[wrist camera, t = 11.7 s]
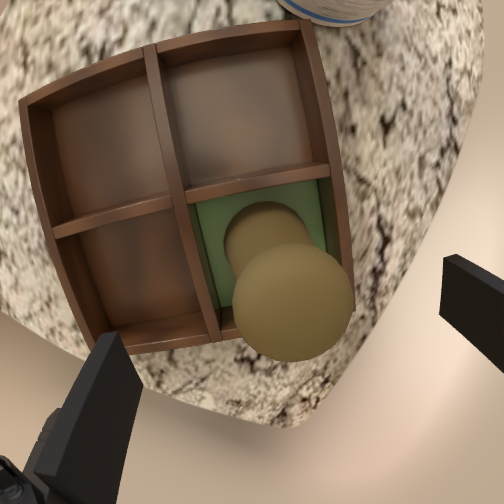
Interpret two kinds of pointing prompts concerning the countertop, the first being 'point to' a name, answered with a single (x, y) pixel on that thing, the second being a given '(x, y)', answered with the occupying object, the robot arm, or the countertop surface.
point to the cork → (284, 284)
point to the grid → (180, 175)
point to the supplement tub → (335, 10)
